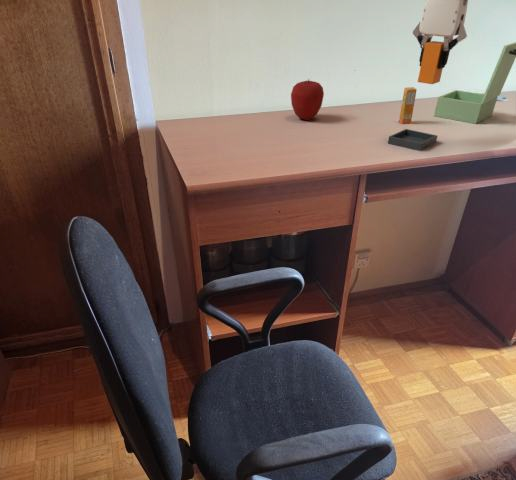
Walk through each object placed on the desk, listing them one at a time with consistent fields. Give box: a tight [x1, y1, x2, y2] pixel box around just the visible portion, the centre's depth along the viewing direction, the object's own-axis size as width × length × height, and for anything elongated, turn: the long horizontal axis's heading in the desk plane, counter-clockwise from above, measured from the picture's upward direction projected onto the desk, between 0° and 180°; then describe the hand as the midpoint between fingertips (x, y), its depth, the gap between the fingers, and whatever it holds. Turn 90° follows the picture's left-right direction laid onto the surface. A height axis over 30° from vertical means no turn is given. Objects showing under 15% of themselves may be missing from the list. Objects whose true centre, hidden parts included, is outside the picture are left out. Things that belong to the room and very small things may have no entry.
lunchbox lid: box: [481, 41, 516, 103], centre depth 140 cm, size 15×14×6 cm
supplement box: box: [398, 86, 417, 125], centre depth 144 cm, size 3×3×10 cm
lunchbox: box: [433, 89, 498, 125], centre depth 152 cm, size 15×14×6 cm
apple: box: [290, 78, 325, 121], centre depth 147 cm, size 11×11×12 cm
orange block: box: [417, 40, 444, 85], centre depth 120 cm, size 4×4×9 cm
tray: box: [387, 128, 438, 152], centre depth 131 cm, size 10×10×2 cm
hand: (432, 66), depth 120 cm, fingers closed on orange block, 4 cm apart
